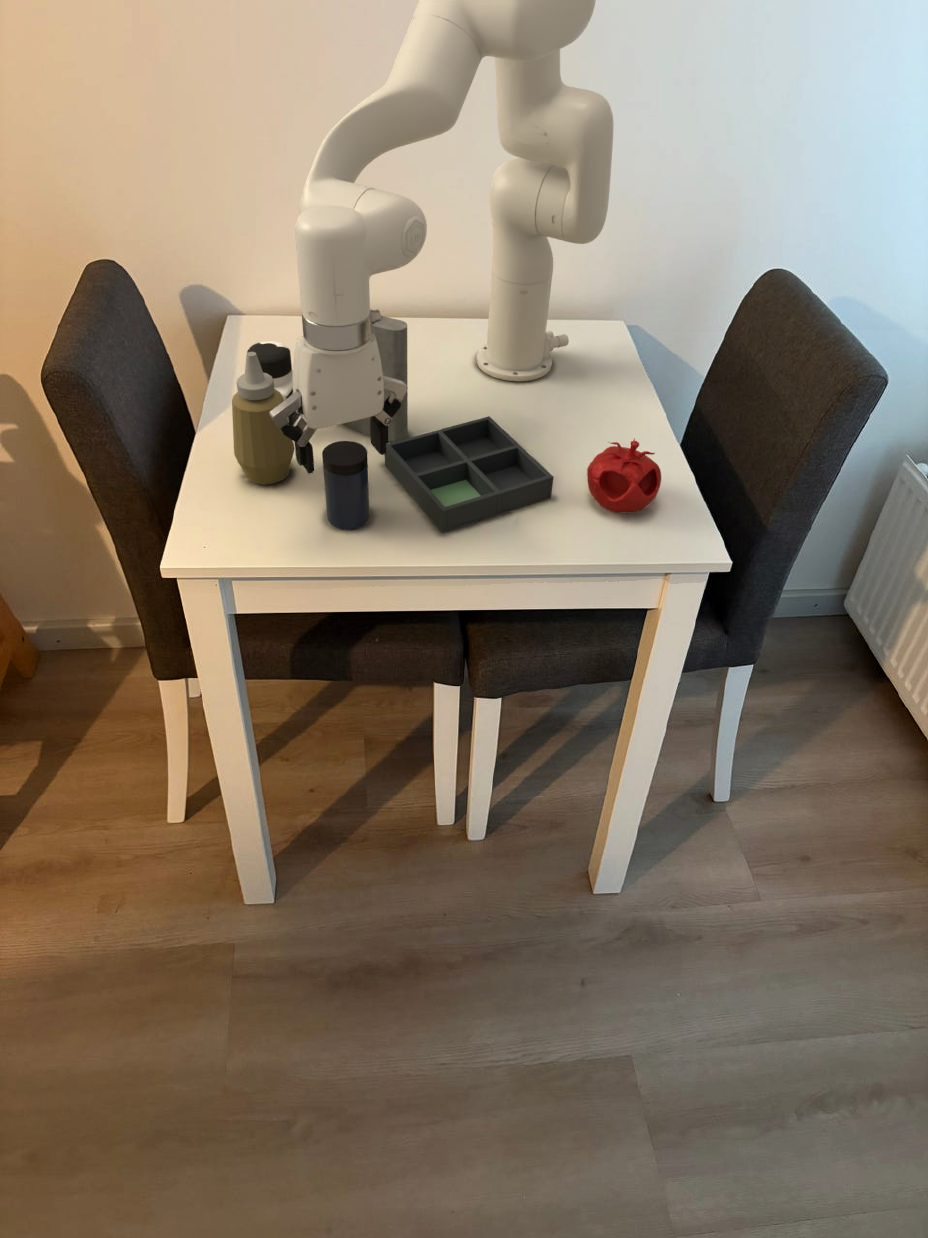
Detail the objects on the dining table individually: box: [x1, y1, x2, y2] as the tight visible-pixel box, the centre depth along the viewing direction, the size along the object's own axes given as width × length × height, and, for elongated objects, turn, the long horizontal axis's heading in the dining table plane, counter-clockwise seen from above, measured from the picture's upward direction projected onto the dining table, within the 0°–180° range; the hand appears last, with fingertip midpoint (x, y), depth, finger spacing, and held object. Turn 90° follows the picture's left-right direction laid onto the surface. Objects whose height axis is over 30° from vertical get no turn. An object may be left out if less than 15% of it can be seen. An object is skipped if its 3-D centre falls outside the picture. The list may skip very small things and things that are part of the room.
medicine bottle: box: [246, 340, 300, 425], centre depth 129 cm, size 7×7×12 cm
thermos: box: [321, 440, 371, 531], centre depth 114 cm, size 6×6×10 cm
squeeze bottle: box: [231, 352, 295, 485], centre depth 118 cm, size 8×8×18 cm
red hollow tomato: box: [586, 437, 662, 514], centre depth 120 cm, size 10×10×9 cm
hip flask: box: [341, 315, 409, 442], centre depth 127 cm, size 16×4×20 cm, turn 58°
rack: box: [384, 415, 555, 534], centre depth 123 cm, size 17×17×4 cm
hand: (343, 458), depth 111 cm, fingers open, 9 cm apart
